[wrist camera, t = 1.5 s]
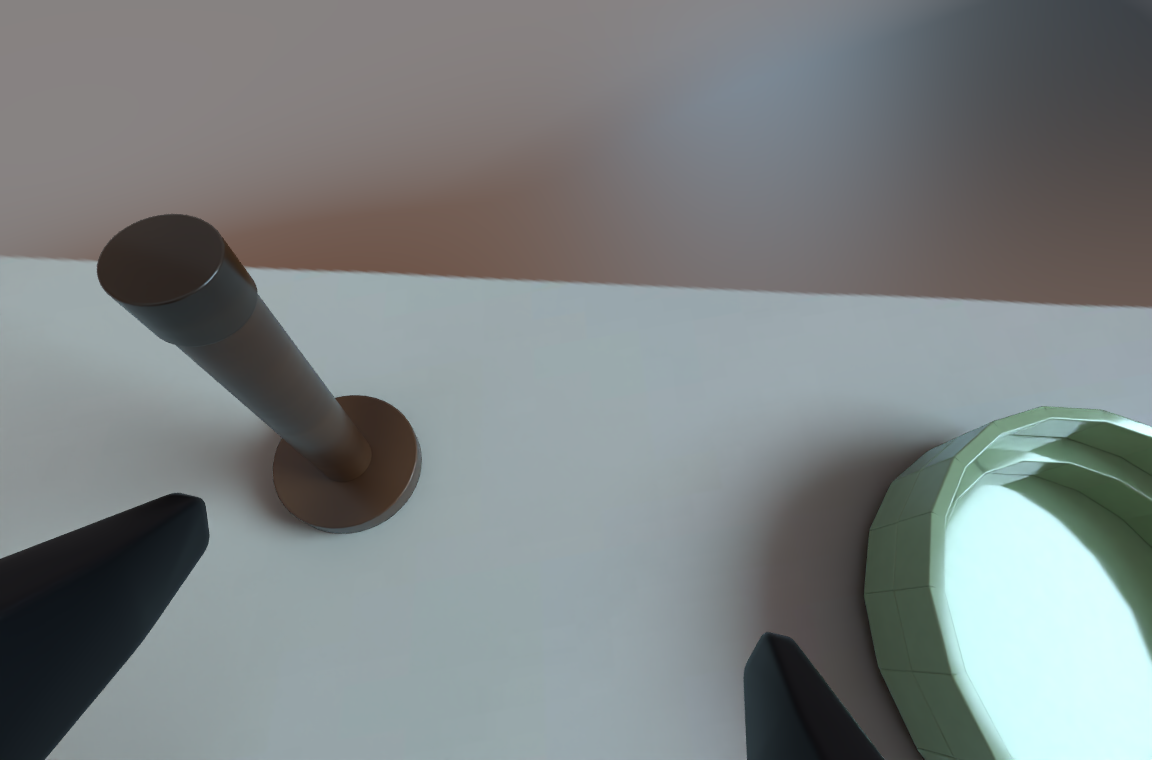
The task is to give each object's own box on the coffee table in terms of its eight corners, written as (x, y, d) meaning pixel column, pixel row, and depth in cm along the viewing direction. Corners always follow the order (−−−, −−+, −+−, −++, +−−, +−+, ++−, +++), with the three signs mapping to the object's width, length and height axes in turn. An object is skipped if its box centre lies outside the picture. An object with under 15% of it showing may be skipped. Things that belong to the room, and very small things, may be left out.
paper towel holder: (268, 531, 21) (-79, 380, 9) (301, 402, 24) (66, 139, 11) (411, 536, 22) (275, 399, 9) (429, 408, 24) (341, 164, 12)
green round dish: (915, 907, 18) (1028, 982, 14) (822, 433, 26) (880, 396, 22) (1350, 894, 20) (1563, 959, 16) (1144, 450, 27) (1253, 417, 23)
